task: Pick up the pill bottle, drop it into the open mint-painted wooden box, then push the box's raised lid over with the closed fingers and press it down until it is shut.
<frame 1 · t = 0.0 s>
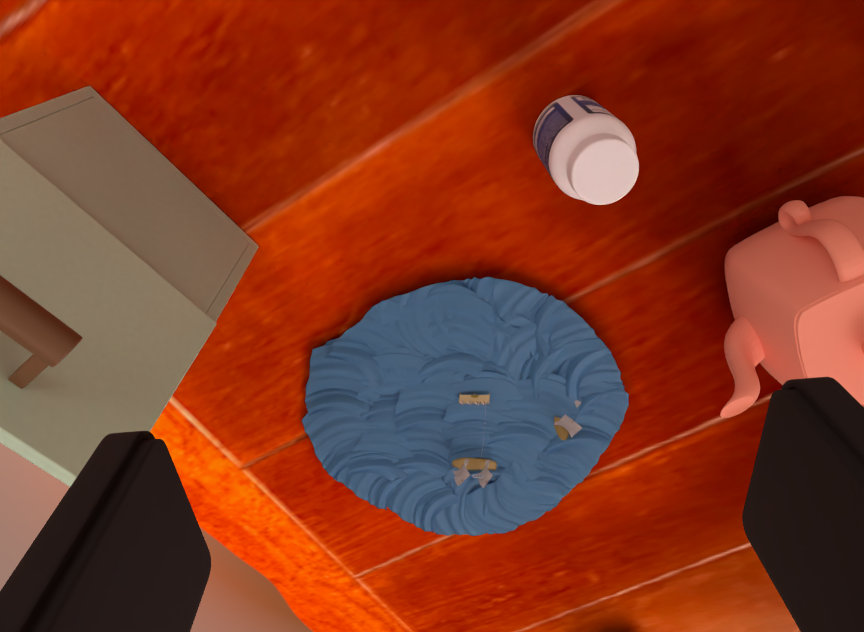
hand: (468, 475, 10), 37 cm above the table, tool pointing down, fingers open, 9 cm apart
chest: (127, 222, 47), on the table
blue flat piece: (464, 417, 57), on the table
teapot: (790, 269, 50), on the table
pill bottle: (568, 132, 44), on the table
lid: (55, 276, 28), point 19 cm above the table, hinge at 85.0°
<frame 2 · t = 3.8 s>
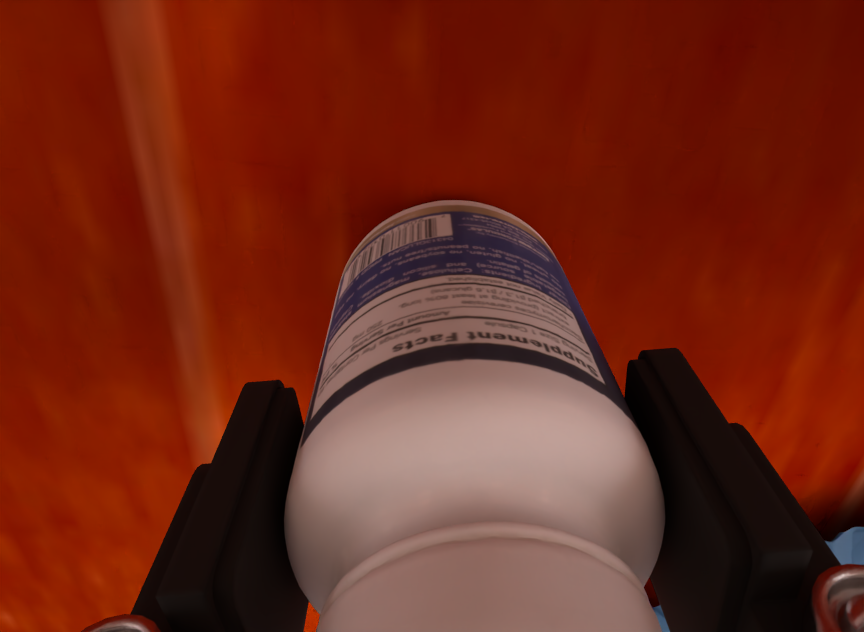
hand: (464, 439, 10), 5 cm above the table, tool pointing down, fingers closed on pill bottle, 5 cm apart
pill bottle: (451, 297, 15), on the table, touching gripper
when the fingers open (14 cm above the table, at t = 13.7 s): pill bottle drops 8 cm, resting on chest.
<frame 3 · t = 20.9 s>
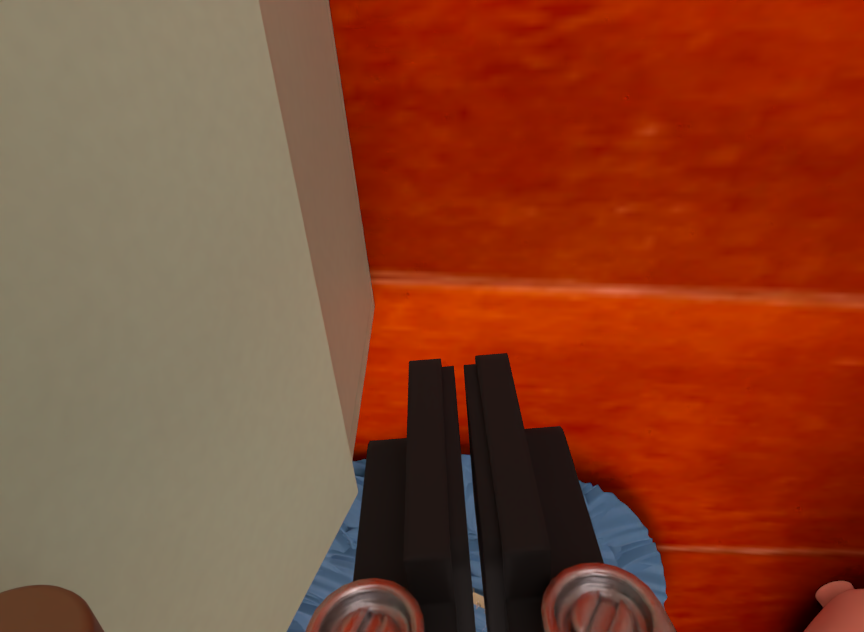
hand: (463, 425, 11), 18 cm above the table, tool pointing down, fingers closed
chest: (210, 164, 27), on the table
blue flat piece: (443, 600, 43), on the table
teapot: (857, 618, 44), on the table
lid: (220, 471, 10), point 19 cm above the table, hinge at 72.8°, touching gripper
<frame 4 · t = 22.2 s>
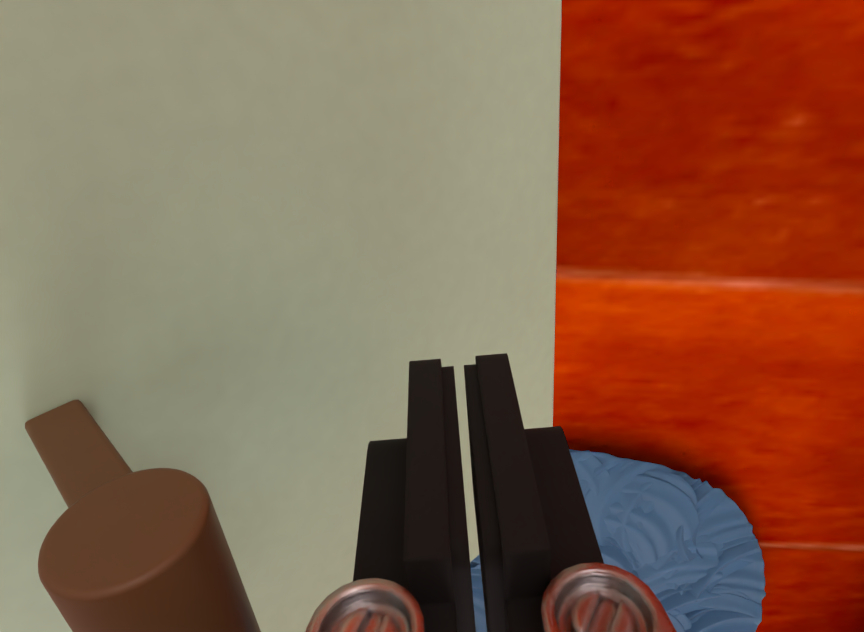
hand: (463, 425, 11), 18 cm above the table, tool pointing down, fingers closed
blue flat piece: (533, 599, 42), on the table
lid: (395, 427, 11), point 18 cm above the table, hinge at 42.3°, touching gripper
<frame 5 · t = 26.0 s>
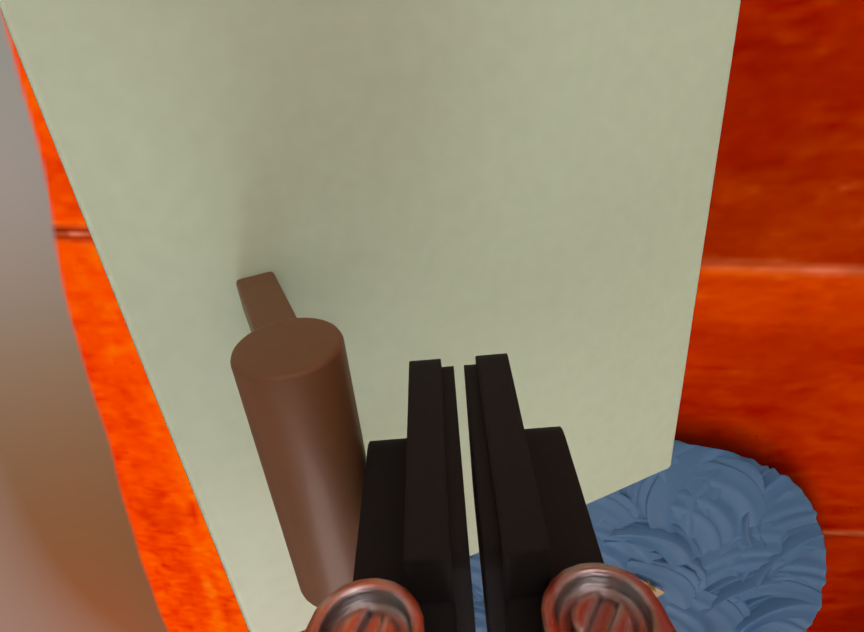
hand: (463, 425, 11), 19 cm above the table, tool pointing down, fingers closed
blue flat piece: (591, 587, 43), on the table
lid: (508, 350, 12), point 17 cm above the table, hinge at 23.3°
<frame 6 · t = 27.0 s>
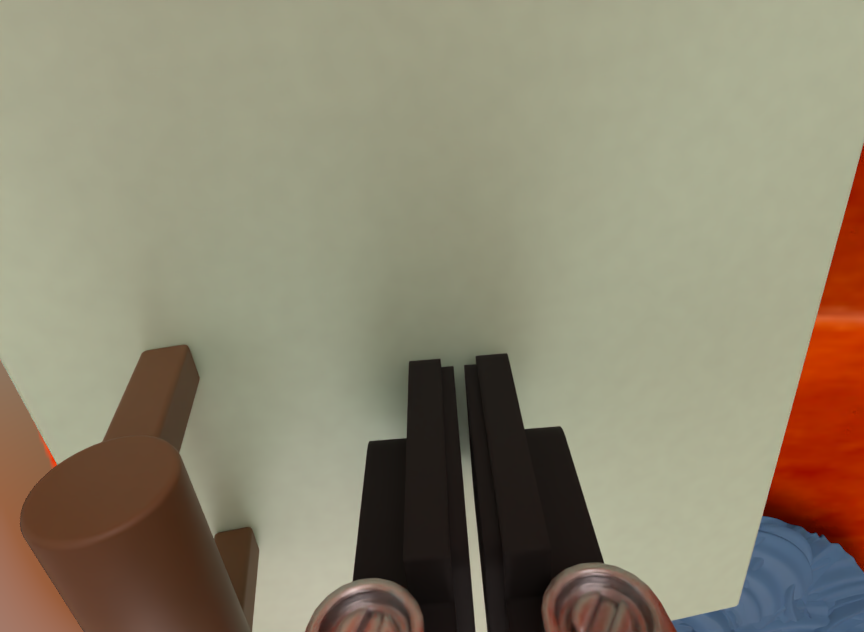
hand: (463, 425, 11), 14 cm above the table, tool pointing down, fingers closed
lid: (482, 475, 9), point 15 cm above the table, hinge at 9.3°, touching gripper
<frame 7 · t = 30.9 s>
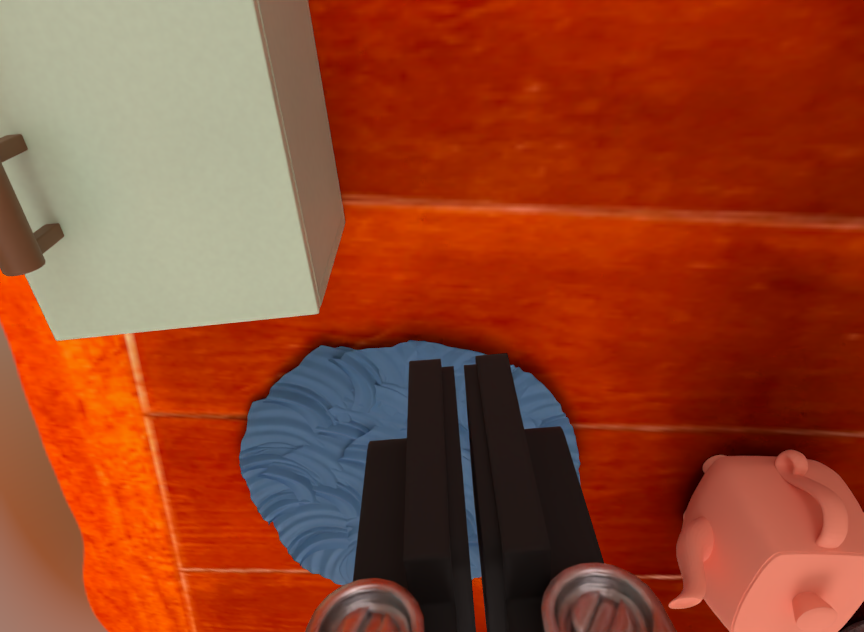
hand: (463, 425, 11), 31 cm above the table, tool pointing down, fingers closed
chest: (226, 114, 38), on the table
blue flat piece: (407, 475, 54), on the table
teapot: (739, 490, 55), on the table
lid: (123, 188, 25), point 14 cm above the table, hinge at 2.2°
decorative orb: (861, 629, 66), on the table
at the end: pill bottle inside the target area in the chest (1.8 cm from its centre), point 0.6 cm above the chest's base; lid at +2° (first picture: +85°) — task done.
